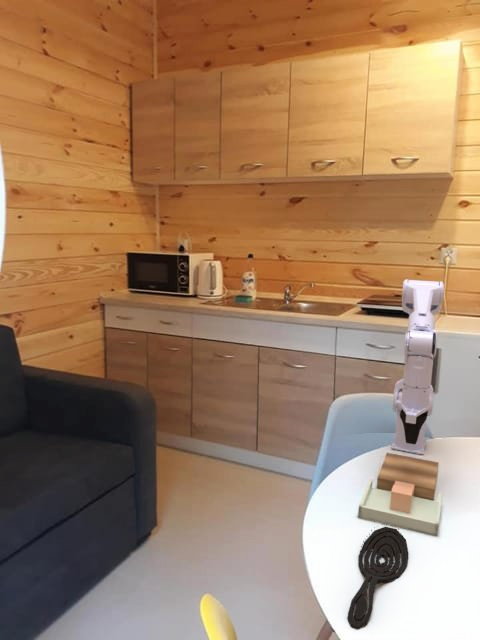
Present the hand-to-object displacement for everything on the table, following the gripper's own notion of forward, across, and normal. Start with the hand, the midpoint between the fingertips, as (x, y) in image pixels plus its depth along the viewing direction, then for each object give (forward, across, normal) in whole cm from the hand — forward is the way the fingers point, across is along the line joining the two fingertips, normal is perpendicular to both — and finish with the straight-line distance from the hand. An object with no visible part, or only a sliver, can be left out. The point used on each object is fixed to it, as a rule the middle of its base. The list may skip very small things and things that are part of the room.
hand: (411, 442), depth 121 cm
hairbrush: (+11, +36, -1) cm, 37 cm away
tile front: (+8, +10, 0) cm, 13 cm away
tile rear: (+10, +8, 0) cm, 13 cm away
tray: (+10, +12, 0) cm, 16 cm away
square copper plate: (+10, -2, 0) cm, 11 cm away
